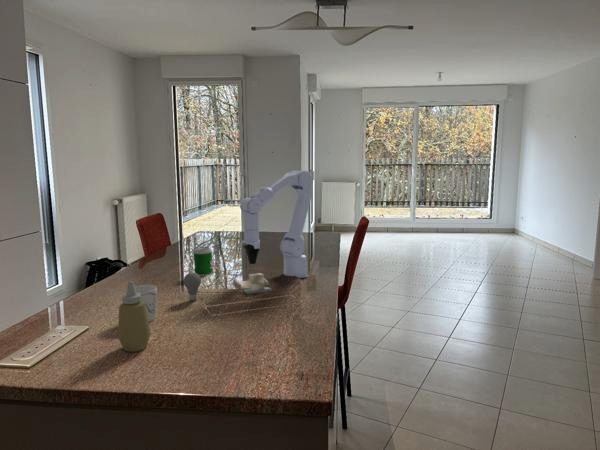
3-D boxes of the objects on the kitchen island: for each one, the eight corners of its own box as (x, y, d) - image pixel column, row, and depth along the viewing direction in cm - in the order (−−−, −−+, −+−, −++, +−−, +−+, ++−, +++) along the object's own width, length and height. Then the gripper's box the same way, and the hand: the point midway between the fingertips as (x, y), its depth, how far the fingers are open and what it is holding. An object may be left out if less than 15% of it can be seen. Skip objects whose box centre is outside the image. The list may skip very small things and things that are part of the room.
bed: (261, 281, 178) (261, 275, 177) (268, 288, 169) (268, 282, 168) (233, 285, 173) (233, 279, 173) (239, 292, 165) (238, 285, 164)
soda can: (208, 278, 183) (207, 250, 181) (191, 278, 185) (190, 249, 183) (215, 274, 190) (214, 246, 189) (199, 273, 192) (198, 246, 190)
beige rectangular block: (261, 287, 166) (260, 273, 166) (264, 289, 162) (263, 274, 161) (249, 289, 164) (248, 274, 164) (252, 290, 160) (251, 275, 160)
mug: (133, 330, 129) (131, 297, 128) (115, 324, 134) (113, 292, 132) (164, 317, 139) (162, 287, 137) (146, 313, 143) (144, 283, 142)
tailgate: (266, 286, 167) (271, 288, 162) (267, 289, 167) (271, 291, 162) (242, 289, 164) (246, 291, 158) (242, 292, 164) (246, 294, 158)
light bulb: (205, 298, 158) (203, 271, 156) (196, 303, 152) (194, 275, 150) (190, 296, 159) (189, 269, 158) (181, 302, 154) (179, 274, 152)
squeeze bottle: (124, 342, 121) (119, 278, 118) (154, 340, 121) (150, 277, 119) (114, 355, 113) (109, 286, 110) (147, 353, 114) (142, 285, 111)
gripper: (236, 227, 175) (237, 260, 178) (246, 232, 162) (247, 268, 164) (253, 225, 178) (254, 258, 180) (264, 231, 165) (265, 266, 167)
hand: (252, 263), depth 172 cm, fingers closed
